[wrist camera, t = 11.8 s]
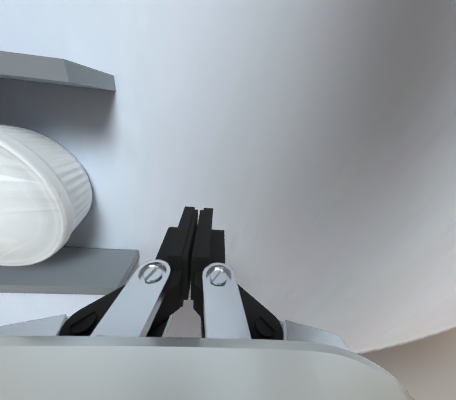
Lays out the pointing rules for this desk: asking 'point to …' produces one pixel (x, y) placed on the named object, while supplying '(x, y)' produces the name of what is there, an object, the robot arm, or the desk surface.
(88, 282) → the box
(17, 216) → the ramekin
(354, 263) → the desk surface
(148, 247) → the desk surface
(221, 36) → the desk surface
